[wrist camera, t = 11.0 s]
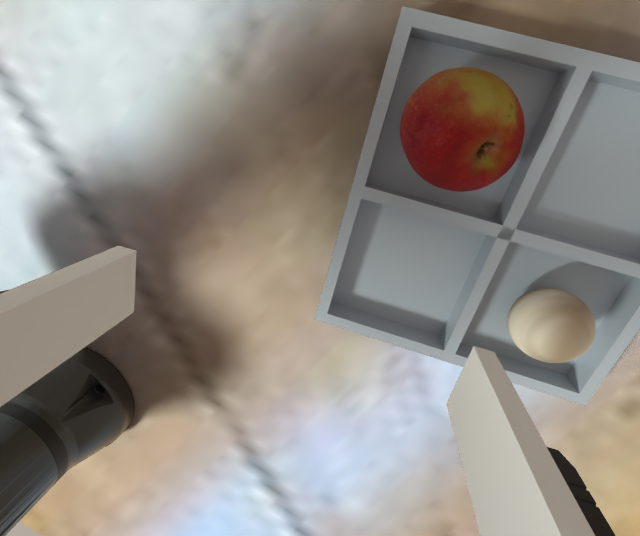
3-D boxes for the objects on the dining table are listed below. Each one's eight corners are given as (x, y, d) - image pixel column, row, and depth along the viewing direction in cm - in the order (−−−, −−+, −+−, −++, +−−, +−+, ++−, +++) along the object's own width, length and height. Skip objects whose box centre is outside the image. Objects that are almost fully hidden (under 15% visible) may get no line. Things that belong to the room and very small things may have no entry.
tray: (321, 303, 36) (314, 319, 33) (400, 21, 27) (402, 5, 24) (566, 380, 34) (585, 405, 31) (747, 105, 25) (800, 100, 22)
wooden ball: (487, 325, 33) (506, 364, 27) (516, 268, 31) (544, 297, 25) (552, 345, 32) (585, 389, 27) (587, 288, 30) (631, 323, 25)
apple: (410, 194, 30) (417, 214, 23) (390, 93, 28) (390, 78, 20) (507, 170, 28) (549, 183, 21) (494, 59, 26) (536, 29, 18)
